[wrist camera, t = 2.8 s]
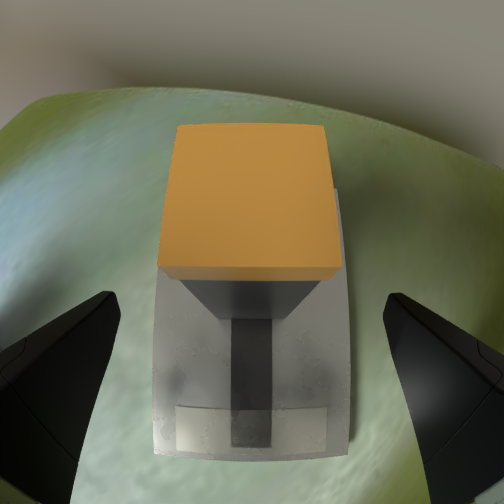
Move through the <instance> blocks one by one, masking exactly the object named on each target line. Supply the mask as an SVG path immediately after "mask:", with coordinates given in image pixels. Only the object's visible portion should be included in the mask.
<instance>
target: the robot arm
mask: <svg viewBox="0 0 504 504" xmlns="http://www.w3.org/2000/svg"><path fill="white" fill-rule="evenodd" d="M120 318H121V312H120V308H119V305H118V301H117V297H116V294H115V293H114V292H113V291H102V292H100V293H98V294H97V295H95V296H93V297H91V298H90V299H88V300H86V301H84V302H83V303H81V304H79V305H78V306H76V307H74V308H72V309H71V310H69V311H67V312H66V313H64V314H62V315H61V316H59V317H57V318H56V319H54V320H52V321H51V322H49V323H47V324H46V325H44V326H42V327H41V328H39V329H37V330H36V331H34V332H33V333H31V334H29V335H28V336H27V337H24V338H23V339H21V340H19V341H18V342H16V343H15V344H13V345H11V346H10V347H8V348H6V349H4V350H3V351H1V352H0V504H70V499H71V494H72V490H73V485H74V480H75V476H76V472H77V467H78V462H79V458H80V454H81V451H82V447H83V443H84V439H85V436H86V432H87V428H88V425H89V422H90V418H91V415H92V411H93V408H94V405H95V402H96V399H97V395H98V392H99V389H100V386H101V383H102V380H103V377H104V374H105V371H106V369H107V366H108V363H109V360H110V357H111V354H112V350H113V346H114V342H115V338H116V334H117V330H118V326H119V322H120ZM383 321H384V325H385V329H386V333H387V338H388V342H389V346H390V351H391V355H392V358H393V361H394V364H395V367H396V370H397V373H398V376H399V379H400V383H401V386H402V389H403V392H404V395H405V398H406V402H407V405H408V408H409V412H410V415H411V419H412V422H413V426H414V430H415V433H416V437H417V441H418V445H419V449H420V453H421V457H422V461H423V465H424V466H423V467H424V471H425V476H426V480H427V485H428V490H429V495H430V500H431V504H471V503H473V502H475V504H504V355H502V354H501V353H499V352H497V351H495V350H494V349H492V348H491V347H489V346H487V345H486V344H484V343H483V342H481V341H479V340H478V339H477V340H476V338H475V337H473V336H472V335H470V334H468V333H467V332H465V331H464V330H462V329H460V328H459V327H457V326H456V325H454V324H452V323H451V322H449V321H447V320H446V319H444V318H443V317H441V316H439V315H438V314H436V313H434V312H433V311H431V310H429V309H428V308H426V307H424V306H423V305H421V304H419V303H418V302H416V301H414V300H413V299H411V298H409V297H408V296H406V295H404V294H403V293H391V294H389V296H388V299H387V302H386V306H385V309H384V312H383Z"/></svg>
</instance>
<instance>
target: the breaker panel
mask: <svg viewBox="0 0 504 504" xmlns="http://www.w3.org/2000/svg"><path fill="white" fill-rule="evenodd" d="M334 194H335V201H336V209H337V218H338V226H339V236H340V246H341V256H342V268H341V269H340V270H339V271H338V272H337V273H336V274H335V275H334V276H333V277H332V278H331V279H330V280H322V281H321V282H320V283H319V284H318V285H317V286H316V287H315V288H314V289H313V290H312V291H311V292H310V293H309V294H308V295H307V297H306V298H305V299H304V300H303V301H302V302H301V303H300V304H299V305H298V306H297V307H296V308H295V309H294V310H293V311H292V312H291V313H290V314H289V315H288V316H287V317H286V318H285V319H234V318H216V317H215V316H214V315H213V314H212V313H211V312H210V311H209V310H208V309H207V308H206V307H205V306H204V305H203V304H202V303H201V302H200V301H199V300H198V299H197V298H196V297H195V296H194V295H193V294H192V293H191V292H190V291H189V290H188V289H187V288H186V287H185V286H184V285H183V284H182V283H181V282H180V281H179V280H171V279H170V278H169V277H168V276H167V275H166V274H165V273H164V272H163V271H162V270H161V269H160V268H159V267H158V273H157V285H156V298H155V314H154V333H153V366H152V409H153V440H154V453H155V454H161V455H168V456H176V457H184V458H194V459H205V460H220V461H289V460H304V459H316V458H325V457H334V456H341V455H348V444H349V424H350V380H351V371H350V326H349V305H348V289H347V275H346V263H345V252H344V242H343V233H342V224H341V215H340V207H339V200H338V193H337V189H334Z"/></svg>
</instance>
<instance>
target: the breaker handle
mask: <svg viewBox="0 0 504 504" xmlns="http://www.w3.org/2000/svg"><path fill="white" fill-rule="evenodd" d="M157 266H158V267H159V268H160V269H161V270H162V271H163V272H164V273H165V274H166V275H167V276H168V277H169V278H170V279H171V280H179V281H180V282H181V283H182V284H183V285H184V286H185V287H186V288H187V289H188V290H189V291H190V292H191V293H192V294H193V295H194V296H195V297H196V298H197V299H198V300H199V301H200V302H201V303H202V304H203V305H204V306H205V307H206V308H207V309H208V310H209V311H210V312H211V313H212V314H213V315H214V316H215V317H216V318H234V319H285V318H286V317H287V316H288V315H289V314H290V313H291V312H292V311H293V310H294V309H295V308H296V307H297V306H298V305H299V304H300V303H301V302H302V301H303V300H304V299H305V298H306V297H307V295H308V294H309V293H310V292H311V291H312V290H313V289H314V288H315V287H316V286H317V285H318V284H319V283H320V282H321V281H322V280H330V279H331V278H332V277H333V276H334V275H335V274H336V273H337V272H338V271H339V270H340V269H341V268H342V256H341V246H340V236H339V226H338V218H337V209H336V201H335V194H334V186H333V179H332V173H331V166H330V160H329V154H328V148H327V142H326V136H325V131H324V126H319V125H303V124H281V123H216V124H194V125H178V129H177V134H176V139H175V144H174V149H173V155H172V160H171V166H170V172H169V178H168V184H167V190H166V197H165V204H164V211H163V218H162V226H161V234H160V243H159V252H158V262H157Z"/></svg>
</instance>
